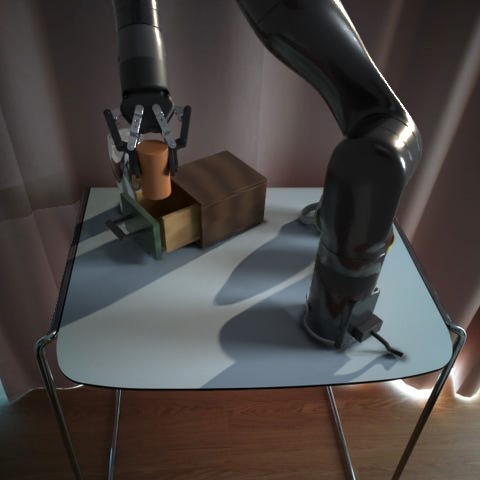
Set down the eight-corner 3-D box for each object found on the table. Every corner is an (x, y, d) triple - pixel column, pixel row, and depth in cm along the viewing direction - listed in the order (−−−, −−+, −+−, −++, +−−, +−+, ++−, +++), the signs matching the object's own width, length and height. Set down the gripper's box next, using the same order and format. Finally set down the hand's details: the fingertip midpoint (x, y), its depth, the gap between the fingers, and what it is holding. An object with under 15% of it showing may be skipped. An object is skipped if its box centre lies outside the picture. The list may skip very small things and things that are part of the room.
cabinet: (202, 248, 91) (201, 204, 84) (166, 215, 98) (162, 171, 91) (263, 221, 97) (267, 178, 90) (226, 192, 104) (226, 149, 97)
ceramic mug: (354, 216, 100) (362, 182, 94) (350, 240, 94) (357, 206, 89) (302, 207, 101) (307, 173, 96) (295, 230, 96) (299, 196, 90)
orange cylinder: (176, 194, 82) (173, 149, 76) (151, 203, 80) (146, 158, 74) (161, 180, 84) (157, 136, 78) (136, 189, 82) (130, 144, 76)
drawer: (133, 272, 85) (127, 235, 79) (102, 238, 91) (95, 201, 85) (219, 234, 93) (219, 199, 87) (186, 205, 99) (184, 170, 93)
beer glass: (124, 196, 102) (113, 125, 91) (157, 199, 101) (150, 129, 90) (113, 215, 97) (100, 143, 86) (148, 219, 97) (139, 148, 86)
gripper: (187, 75, 82) (198, 179, 83) (98, 78, 79) (111, 184, 80) (190, 52, 74) (202, 167, 75) (92, 55, 72) (105, 172, 73)
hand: (155, 175), depth 78 cm, fingers closed on orange cylinder, 5 cm apart
